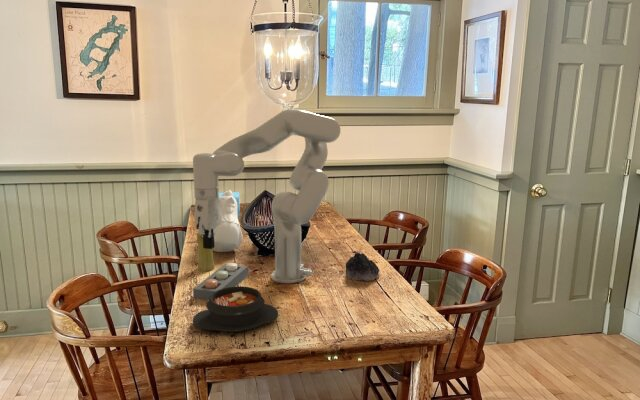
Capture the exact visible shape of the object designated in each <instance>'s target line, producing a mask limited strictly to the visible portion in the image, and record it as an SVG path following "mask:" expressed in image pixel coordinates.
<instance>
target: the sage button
mask: <svg viewBox="0 0 640 400" xmlns="http://www.w3.org/2000/svg"><path fill="white" fill-rule="evenodd" d="M216 279H219V280H226V279H228V272H227V271H218V272H216Z"/></svg>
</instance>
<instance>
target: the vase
mask: <svg viewBox="0 0 640 400" xmlns="http://www.w3.org/2000/svg"><path fill="white" fill-rule="evenodd" d="M196 235H197V237H196V238H197V270H199V271H201V272H209V271H213V270H214V269H215V263H214V261H215V260H214V253H213V250H212V249H205V248H203V237H202V234H198V232H197V233H196Z"/></svg>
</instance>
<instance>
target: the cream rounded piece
mask: <svg viewBox="0 0 640 400" xmlns="http://www.w3.org/2000/svg"><path fill="white" fill-rule="evenodd" d="M225 264H226V271H231V272H236V271H237V265H238V264H237V263H235V262H229V263H225Z"/></svg>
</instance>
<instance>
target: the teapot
mask: <svg viewBox="0 0 640 400" xmlns="http://www.w3.org/2000/svg"><path fill="white" fill-rule="evenodd" d="M227 191H228V190H226V191H224V192H219V199H220V198H221V197H222V195H223V194H224V193H225V192H227ZM232 193H233V197H234V198H235V199H236V201H237V205H238V209H237V216H238V218H239V217H240V215H241V214H240V213H241V203H240V202H241V201H240V192H239V191H233V192H232Z"/></svg>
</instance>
